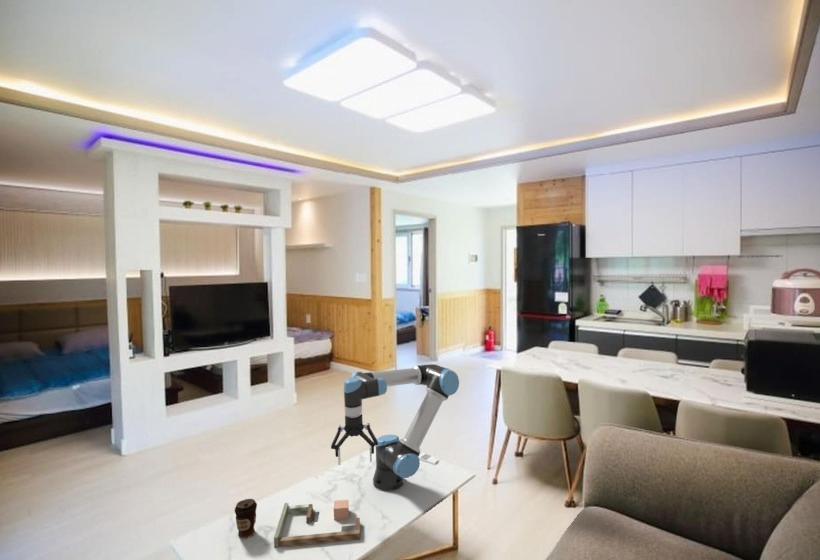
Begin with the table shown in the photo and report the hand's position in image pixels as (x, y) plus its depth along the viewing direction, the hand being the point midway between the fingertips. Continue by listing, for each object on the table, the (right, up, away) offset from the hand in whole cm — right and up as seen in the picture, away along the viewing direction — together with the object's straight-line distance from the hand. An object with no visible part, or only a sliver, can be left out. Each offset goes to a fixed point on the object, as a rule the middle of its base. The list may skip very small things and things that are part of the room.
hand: (355, 462), depth 179 cm
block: (-6, -23, 0) cm, 24 cm away
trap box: (-14, -23, -6) cm, 28 cm away
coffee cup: (-43, -24, -12) cm, 51 cm away
